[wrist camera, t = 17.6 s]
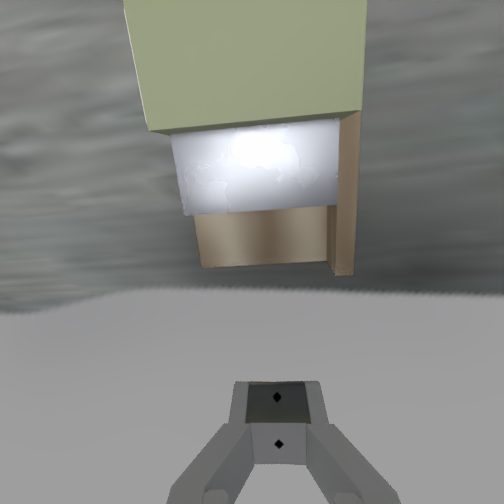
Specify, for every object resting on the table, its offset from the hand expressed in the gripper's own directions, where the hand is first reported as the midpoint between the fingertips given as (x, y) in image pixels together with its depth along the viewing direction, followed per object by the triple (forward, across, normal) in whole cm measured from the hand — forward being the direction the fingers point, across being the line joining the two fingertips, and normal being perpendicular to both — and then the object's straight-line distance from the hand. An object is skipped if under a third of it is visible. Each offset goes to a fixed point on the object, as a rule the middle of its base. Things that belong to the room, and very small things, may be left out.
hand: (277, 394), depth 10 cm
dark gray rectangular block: (+12, +1, -8) cm, 14 cm away
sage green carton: (+12, 0, -11) cm, 16 cm away
